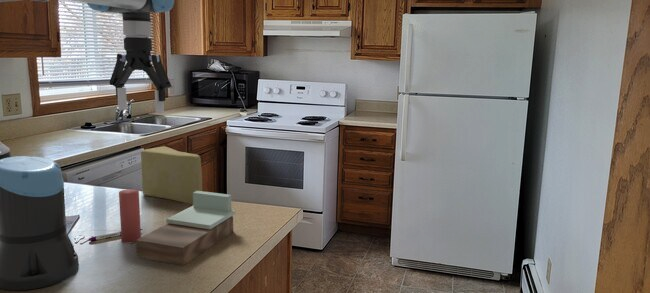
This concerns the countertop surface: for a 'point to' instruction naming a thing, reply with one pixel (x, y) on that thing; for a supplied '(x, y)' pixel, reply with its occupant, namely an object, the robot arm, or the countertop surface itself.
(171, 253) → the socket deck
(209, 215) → the cover
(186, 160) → the cheese
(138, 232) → the peg
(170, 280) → the countertop surface
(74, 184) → the countertop surface
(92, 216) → the countertop surface
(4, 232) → the robot arm
